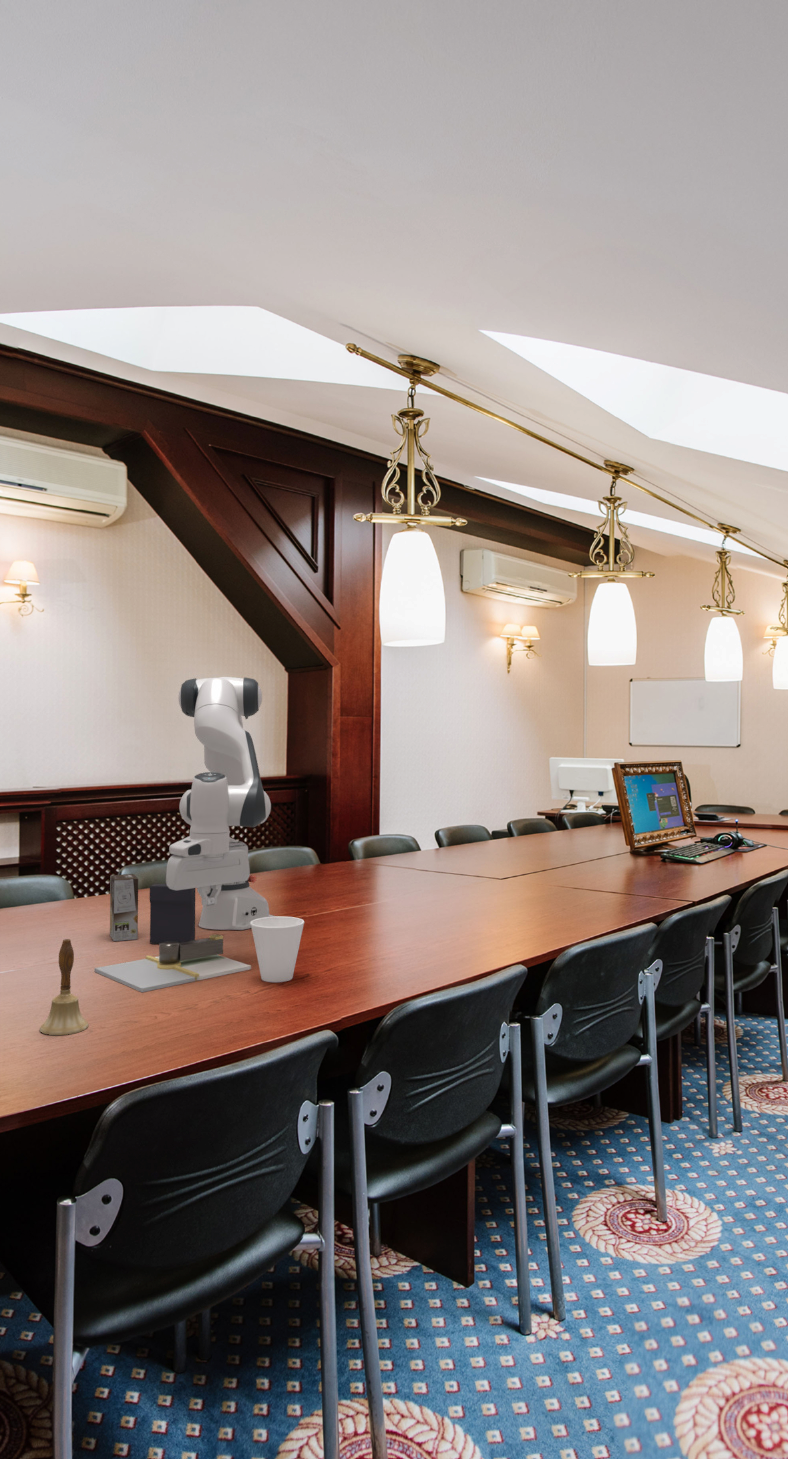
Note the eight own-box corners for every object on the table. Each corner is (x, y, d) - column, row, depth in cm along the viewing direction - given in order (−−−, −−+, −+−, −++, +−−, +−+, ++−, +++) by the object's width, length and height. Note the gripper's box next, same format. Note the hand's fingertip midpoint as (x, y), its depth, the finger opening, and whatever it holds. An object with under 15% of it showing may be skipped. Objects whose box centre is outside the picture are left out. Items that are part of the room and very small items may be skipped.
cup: (294, 987, 184) (294, 928, 184) (241, 983, 186) (241, 925, 186) (310, 972, 195) (311, 917, 195) (260, 969, 198) (261, 915, 198)
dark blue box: (196, 942, 225) (196, 884, 225) (190, 945, 220) (191, 886, 221) (155, 940, 226) (155, 883, 226) (148, 944, 221) (149, 885, 222)
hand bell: (94, 1020, 161) (95, 934, 161) (80, 1035, 153) (81, 945, 153) (49, 1021, 161) (50, 934, 161) (32, 1036, 152) (33, 945, 153)
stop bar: (164, 964, 194) (164, 946, 194) (155, 960, 197) (155, 942, 197) (224, 954, 204) (224, 936, 204) (215, 950, 207) (215, 933, 207)
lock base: (199, 952, 214) (199, 934, 214) (250, 969, 198) (251, 949, 198) (94, 971, 195) (94, 952, 195) (141, 992, 179) (142, 971, 179)
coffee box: (138, 939, 227) (139, 878, 227) (113, 942, 224) (113, 879, 224) (133, 932, 235) (134, 873, 235) (108, 934, 232) (109, 874, 233)
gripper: (239, 839, 207) (239, 897, 207) (162, 846, 192) (162, 909, 192) (255, 841, 202) (255, 901, 202) (177, 849, 188) (177, 913, 188)
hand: (209, 905), depth 197 cm, fingers closed
